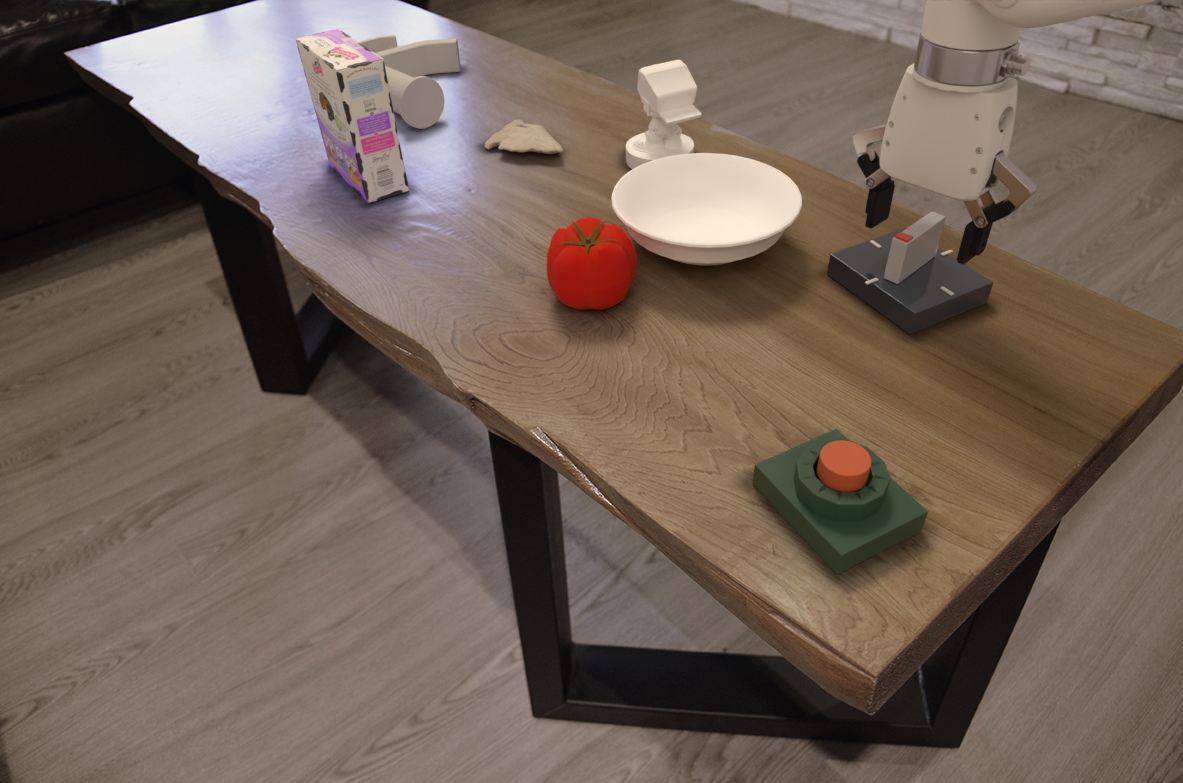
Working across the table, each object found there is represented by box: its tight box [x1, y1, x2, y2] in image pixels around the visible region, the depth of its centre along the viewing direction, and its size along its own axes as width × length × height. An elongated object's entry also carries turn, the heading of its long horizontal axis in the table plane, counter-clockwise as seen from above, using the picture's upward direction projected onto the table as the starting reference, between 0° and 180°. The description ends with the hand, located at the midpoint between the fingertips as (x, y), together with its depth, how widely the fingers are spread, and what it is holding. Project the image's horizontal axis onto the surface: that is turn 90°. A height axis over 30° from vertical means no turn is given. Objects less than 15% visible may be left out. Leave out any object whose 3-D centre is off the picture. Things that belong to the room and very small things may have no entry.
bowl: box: [610, 152, 803, 266], centre depth 91 cm, size 20×20×6 cm
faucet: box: [358, 34, 462, 130], centre depth 127 cm, size 20×7×25 cm
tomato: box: [546, 216, 638, 311], centre depth 84 cm, size 9×9×8 cm
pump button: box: [817, 440, 871, 492], centre depth 61 cm, size 4×4×2 cm
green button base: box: [751, 428, 929, 575], centre depth 63 cm, size 10×8×4 cm
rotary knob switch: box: [826, 227, 994, 335], centre depth 85 cm, size 12×11×3 cm
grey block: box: [884, 210, 947, 284], centre depth 82 cm, size 7×2×5 cm, turn 133°
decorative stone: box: [484, 119, 564, 155], centre depth 111 cm, size 8×12×3 cm
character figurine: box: [625, 59, 703, 170], centre depth 104 cm, size 9×10×12 cm
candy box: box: [295, 28, 410, 204], centre depth 103 cm, size 14×6×16 cm, turn 34°
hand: (920, 239), depth 81 cm, fingers open, 9 cm apart
